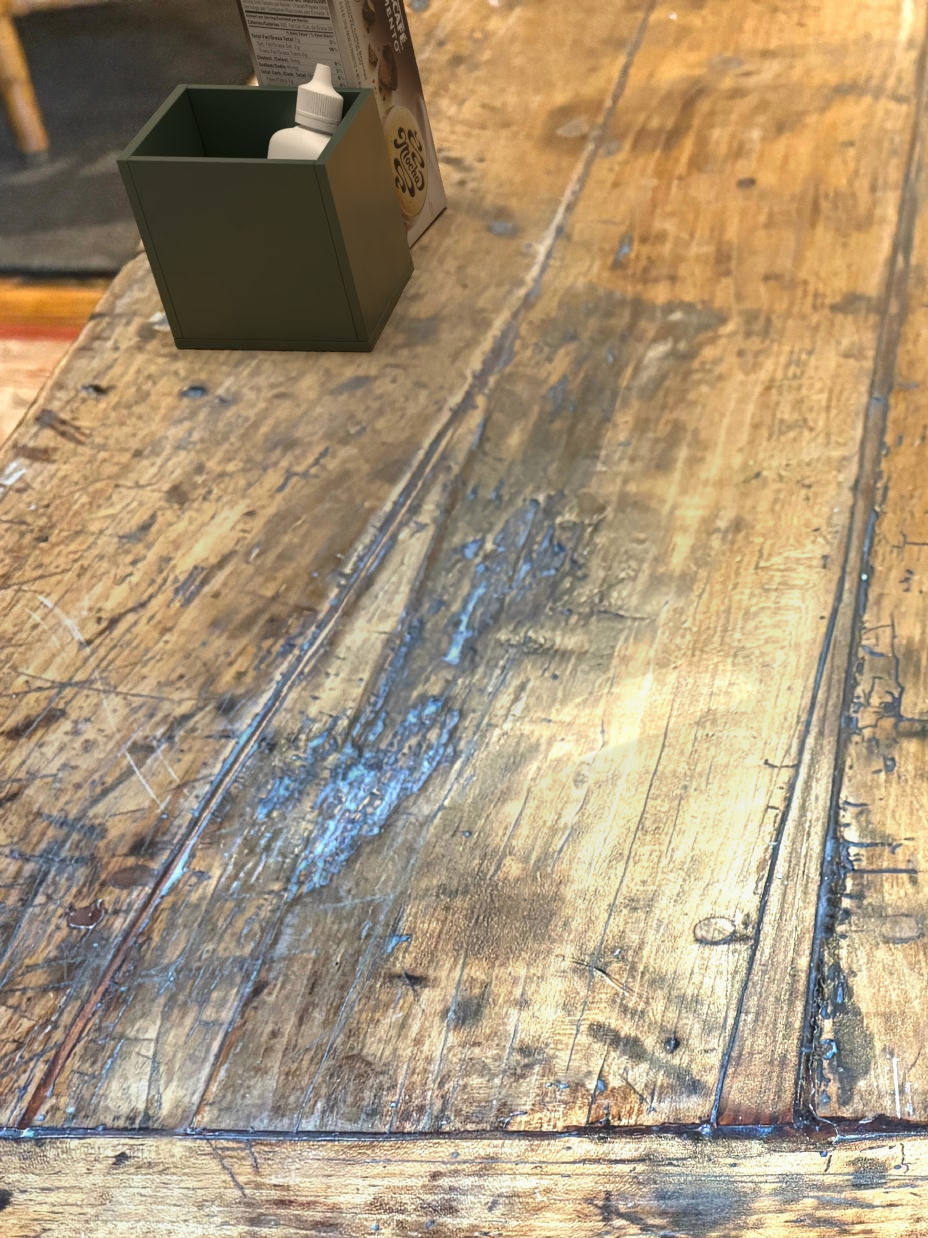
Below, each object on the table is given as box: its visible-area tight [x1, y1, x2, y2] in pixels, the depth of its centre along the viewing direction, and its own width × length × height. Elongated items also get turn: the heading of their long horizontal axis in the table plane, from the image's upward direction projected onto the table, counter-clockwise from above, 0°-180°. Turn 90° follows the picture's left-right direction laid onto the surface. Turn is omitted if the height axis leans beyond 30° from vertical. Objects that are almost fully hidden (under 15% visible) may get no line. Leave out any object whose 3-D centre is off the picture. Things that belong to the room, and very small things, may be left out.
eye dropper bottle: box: [267, 64, 343, 160], centre depth 115 cm, size 4×6×12 cm
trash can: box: [115, 83, 415, 353], centre depth 115 cm, size 11×11×11 cm
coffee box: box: [235, 0, 448, 249], centre depth 120 cm, size 9×6×16 cm
